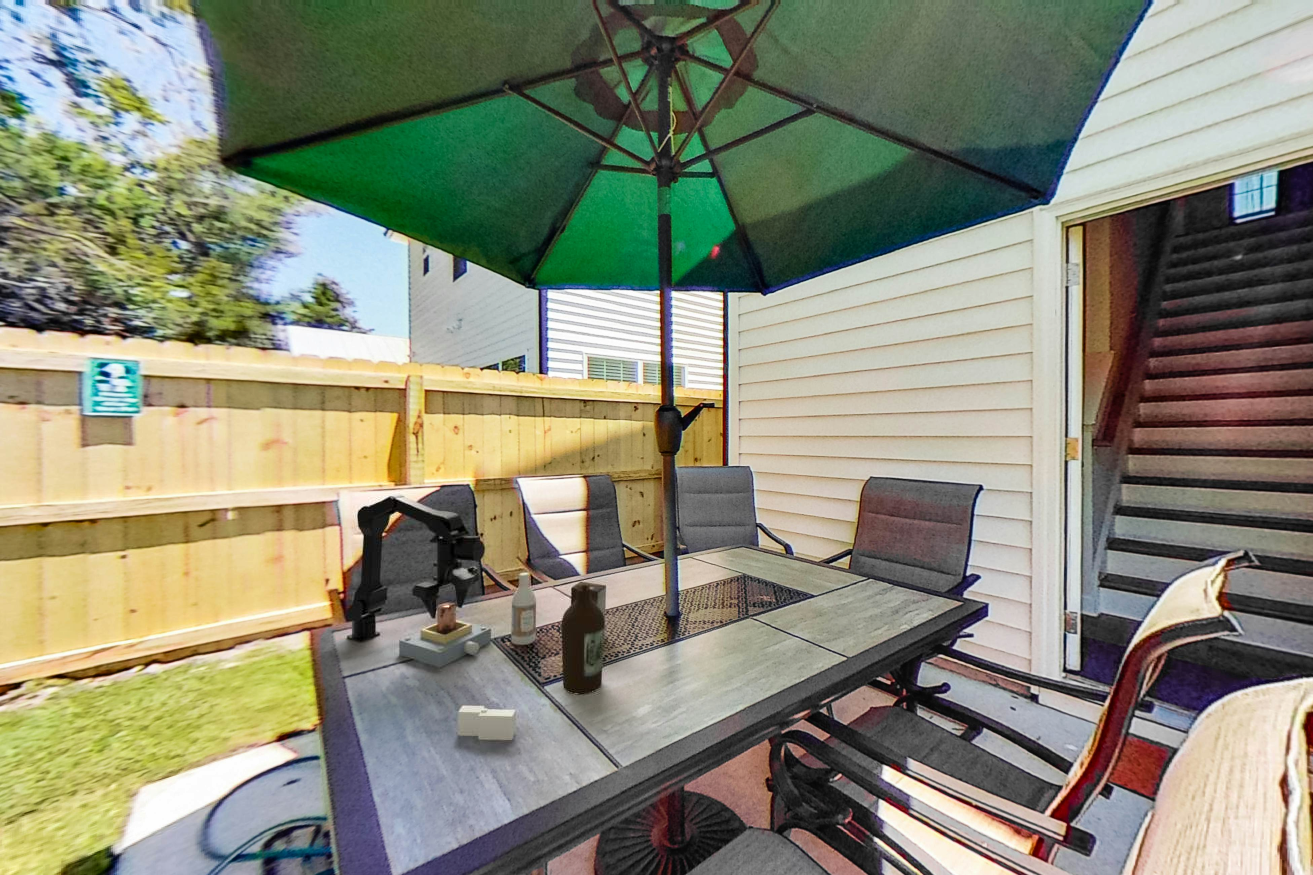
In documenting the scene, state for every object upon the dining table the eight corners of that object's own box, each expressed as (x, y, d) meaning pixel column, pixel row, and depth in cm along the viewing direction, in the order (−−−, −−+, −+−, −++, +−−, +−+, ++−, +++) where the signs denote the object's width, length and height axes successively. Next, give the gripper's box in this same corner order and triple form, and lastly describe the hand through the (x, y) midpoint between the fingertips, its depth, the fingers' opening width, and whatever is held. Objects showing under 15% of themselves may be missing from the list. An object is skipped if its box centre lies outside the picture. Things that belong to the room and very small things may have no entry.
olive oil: (551, 686, 121) (552, 585, 121) (581, 670, 130) (583, 575, 129) (583, 701, 115) (584, 593, 115) (612, 682, 124) (614, 582, 123)
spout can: (433, 635, 140) (433, 606, 140) (447, 628, 145) (447, 601, 145) (450, 639, 137) (450, 611, 137) (464, 633, 142) (464, 605, 142)
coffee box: (568, 640, 148) (569, 587, 147) (579, 632, 154) (579, 581, 153) (596, 645, 145) (597, 590, 144) (606, 637, 151) (606, 584, 150)
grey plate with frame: (399, 654, 137) (399, 632, 137) (452, 631, 153) (452, 611, 153) (448, 670, 129) (448, 647, 129) (498, 643, 145) (498, 623, 145)
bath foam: (515, 647, 142) (516, 578, 142) (508, 639, 148) (509, 572, 148) (538, 642, 146) (539, 574, 146) (530, 634, 152) (531, 569, 152)
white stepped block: (530, 736, 102) (531, 708, 102) (481, 764, 94) (481, 734, 93) (489, 709, 112) (490, 684, 112) (441, 733, 103) (441, 705, 103)
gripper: (440, 570, 129) (439, 629, 130) (492, 554, 146) (492, 607, 146) (411, 564, 134) (410, 622, 134) (465, 550, 151) (465, 601, 151)
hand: (447, 612), depth 141 cm, fingers open, 9 cm apart
